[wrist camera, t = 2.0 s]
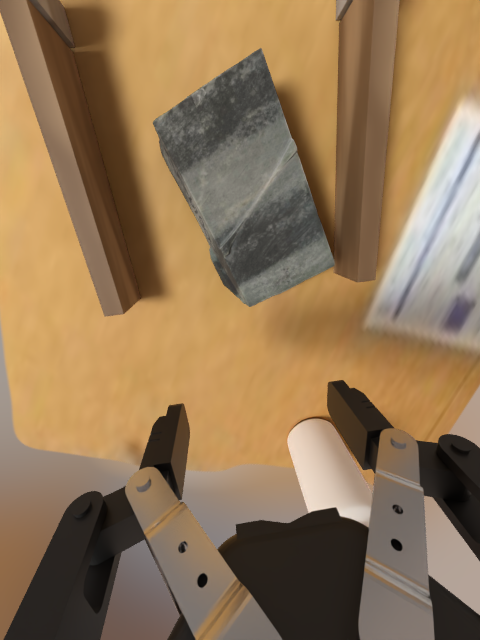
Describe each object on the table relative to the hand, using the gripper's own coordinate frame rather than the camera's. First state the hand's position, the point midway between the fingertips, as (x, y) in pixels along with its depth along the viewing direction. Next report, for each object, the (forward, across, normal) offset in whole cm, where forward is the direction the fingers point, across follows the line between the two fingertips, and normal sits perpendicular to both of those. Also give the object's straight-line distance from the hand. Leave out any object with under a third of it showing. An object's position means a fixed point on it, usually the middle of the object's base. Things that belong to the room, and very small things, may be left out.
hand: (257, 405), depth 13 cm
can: (+13, -8, +17) cm, 23 cm away
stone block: (+13, -2, -10) cm, 17 cm away
